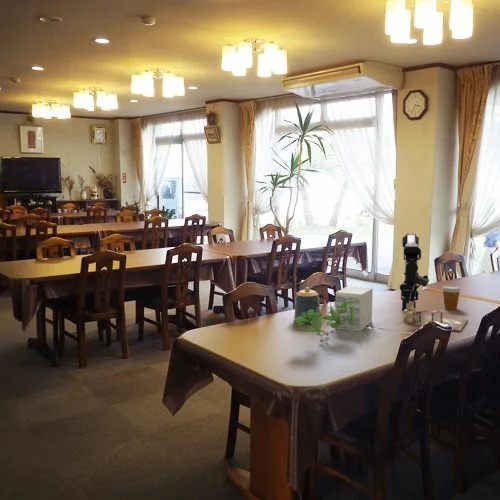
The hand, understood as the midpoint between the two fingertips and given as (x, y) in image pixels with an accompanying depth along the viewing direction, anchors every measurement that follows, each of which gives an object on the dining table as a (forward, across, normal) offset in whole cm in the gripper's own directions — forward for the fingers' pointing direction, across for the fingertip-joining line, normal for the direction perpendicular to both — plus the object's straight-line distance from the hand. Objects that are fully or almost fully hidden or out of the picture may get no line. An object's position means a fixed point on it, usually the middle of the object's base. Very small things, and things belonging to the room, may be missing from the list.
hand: (410, 301), depth 269 cm
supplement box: (+11, -20, +22) cm, 32 cm away
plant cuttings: (+11, -55, +18) cm, 59 cm away
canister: (+11, -22, +46) cm, 52 cm away
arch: (+10, 0, 0) cm, 10 cm away
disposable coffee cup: (+11, +41, -12) cm, 44 cm away
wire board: (+11, +4, -10) cm, 15 cm away
